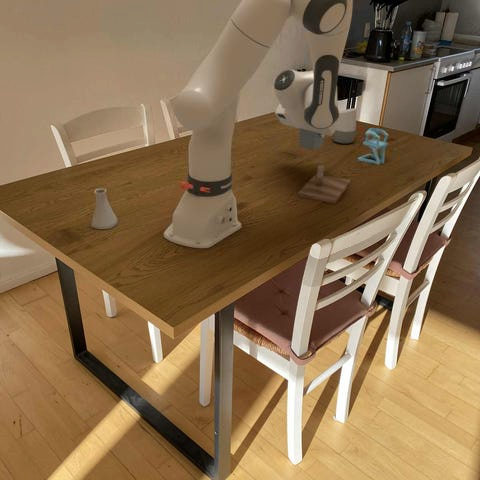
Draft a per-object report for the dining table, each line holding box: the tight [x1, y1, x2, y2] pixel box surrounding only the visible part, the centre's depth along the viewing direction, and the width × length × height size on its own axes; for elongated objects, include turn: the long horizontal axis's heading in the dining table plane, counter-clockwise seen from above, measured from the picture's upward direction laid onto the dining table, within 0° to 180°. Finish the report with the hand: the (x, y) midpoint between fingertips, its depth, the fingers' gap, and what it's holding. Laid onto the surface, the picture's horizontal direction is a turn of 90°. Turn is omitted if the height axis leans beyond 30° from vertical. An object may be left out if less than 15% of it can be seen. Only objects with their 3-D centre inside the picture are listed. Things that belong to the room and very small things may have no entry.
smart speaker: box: [332, 107, 357, 145], centre depth 198 cm, size 10×9×14 cm
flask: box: [90, 188, 119, 230], centre depth 131 cm, size 7×7×10 cm
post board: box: [297, 164, 351, 204], centre depth 155 cm, size 18×12×8 cm, turn 154°
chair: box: [357, 127, 389, 165], centre depth 179 cm, size 8×8×12 cm
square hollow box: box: [298, 129, 325, 151], centre depth 167 cm, size 6×6×8 cm
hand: (313, 133), depth 167 cm, fingers closed on square hollow box, 6 cm apart
